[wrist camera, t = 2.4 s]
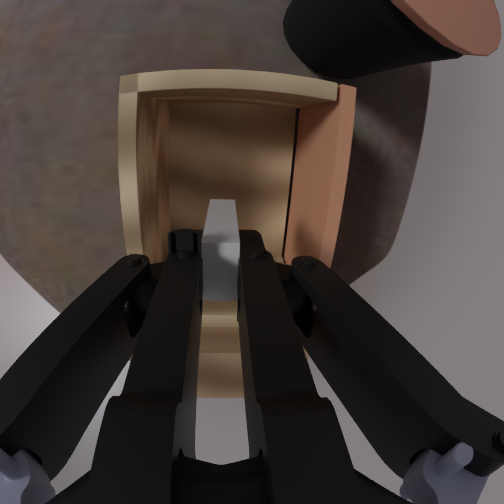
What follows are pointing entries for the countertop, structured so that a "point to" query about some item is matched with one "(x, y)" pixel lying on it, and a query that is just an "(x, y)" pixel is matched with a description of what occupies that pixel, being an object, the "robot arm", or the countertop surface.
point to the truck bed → (209, 174)
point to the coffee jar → (388, 33)
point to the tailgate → (320, 176)
